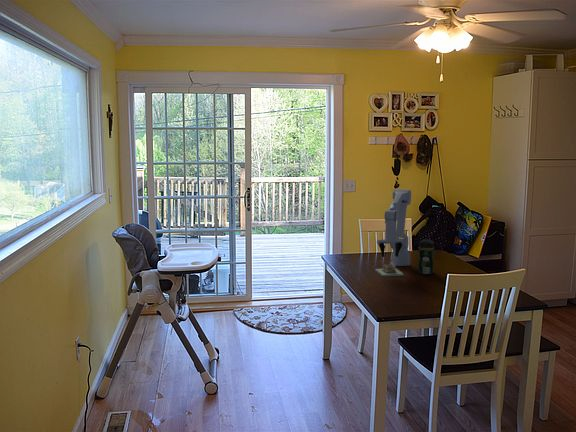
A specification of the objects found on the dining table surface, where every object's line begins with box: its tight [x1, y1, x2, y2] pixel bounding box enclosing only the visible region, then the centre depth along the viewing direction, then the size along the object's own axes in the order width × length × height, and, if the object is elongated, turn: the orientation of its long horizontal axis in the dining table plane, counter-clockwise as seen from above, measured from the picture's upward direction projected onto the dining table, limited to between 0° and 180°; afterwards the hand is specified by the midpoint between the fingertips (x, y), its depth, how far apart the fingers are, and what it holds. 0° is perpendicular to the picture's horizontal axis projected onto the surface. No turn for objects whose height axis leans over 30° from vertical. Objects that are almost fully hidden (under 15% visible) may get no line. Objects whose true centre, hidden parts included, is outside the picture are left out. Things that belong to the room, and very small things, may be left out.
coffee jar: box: [417, 238, 435, 276], centre depth 281 cm, size 10×8×19 cm
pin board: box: [375, 263, 405, 277], centre depth 281 cm, size 12×12×5 cm
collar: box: [382, 263, 397, 272], centre depth 281 cm, size 5×5×3 cm
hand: (389, 256), depth 280 cm, fingers open, 7 cm apart
